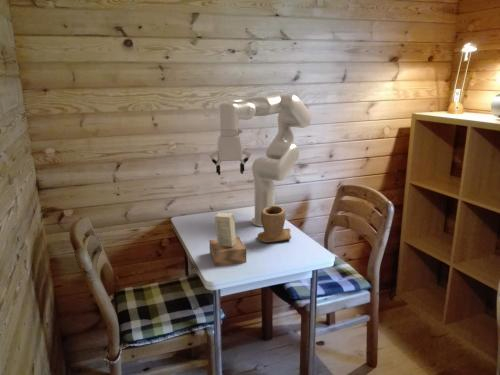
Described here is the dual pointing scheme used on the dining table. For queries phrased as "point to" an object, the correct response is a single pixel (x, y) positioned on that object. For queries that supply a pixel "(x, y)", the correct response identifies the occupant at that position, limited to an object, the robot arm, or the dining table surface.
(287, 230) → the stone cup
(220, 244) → the skincare box
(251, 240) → the dining table surface
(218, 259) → the walnut block
